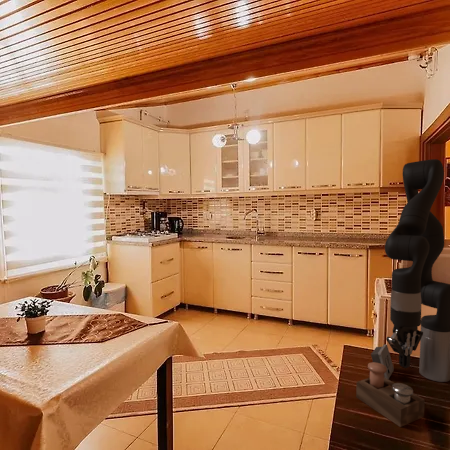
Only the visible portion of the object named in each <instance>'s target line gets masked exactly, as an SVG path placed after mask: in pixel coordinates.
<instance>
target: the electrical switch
mask: <svg viewBox="0 0 450 450" xmlns="http://www.w3.org/2000/svg"><path fill="white" fill-rule="evenodd" d="M370 356H371V360H372V362H376V363H380V364H383V365H384V366H386V368H387V371H386V373H384V378H386V379H388V380H390V377H391V376H392V374H393V372H394V369H395V368H394V364H393V362H392V357H391V353H390V351H389V347H388V344H387V343H386V344H383V345H382V346H376V347H375V348H374V349H373V351H372V352H371V353H370Z"/></svg>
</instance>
